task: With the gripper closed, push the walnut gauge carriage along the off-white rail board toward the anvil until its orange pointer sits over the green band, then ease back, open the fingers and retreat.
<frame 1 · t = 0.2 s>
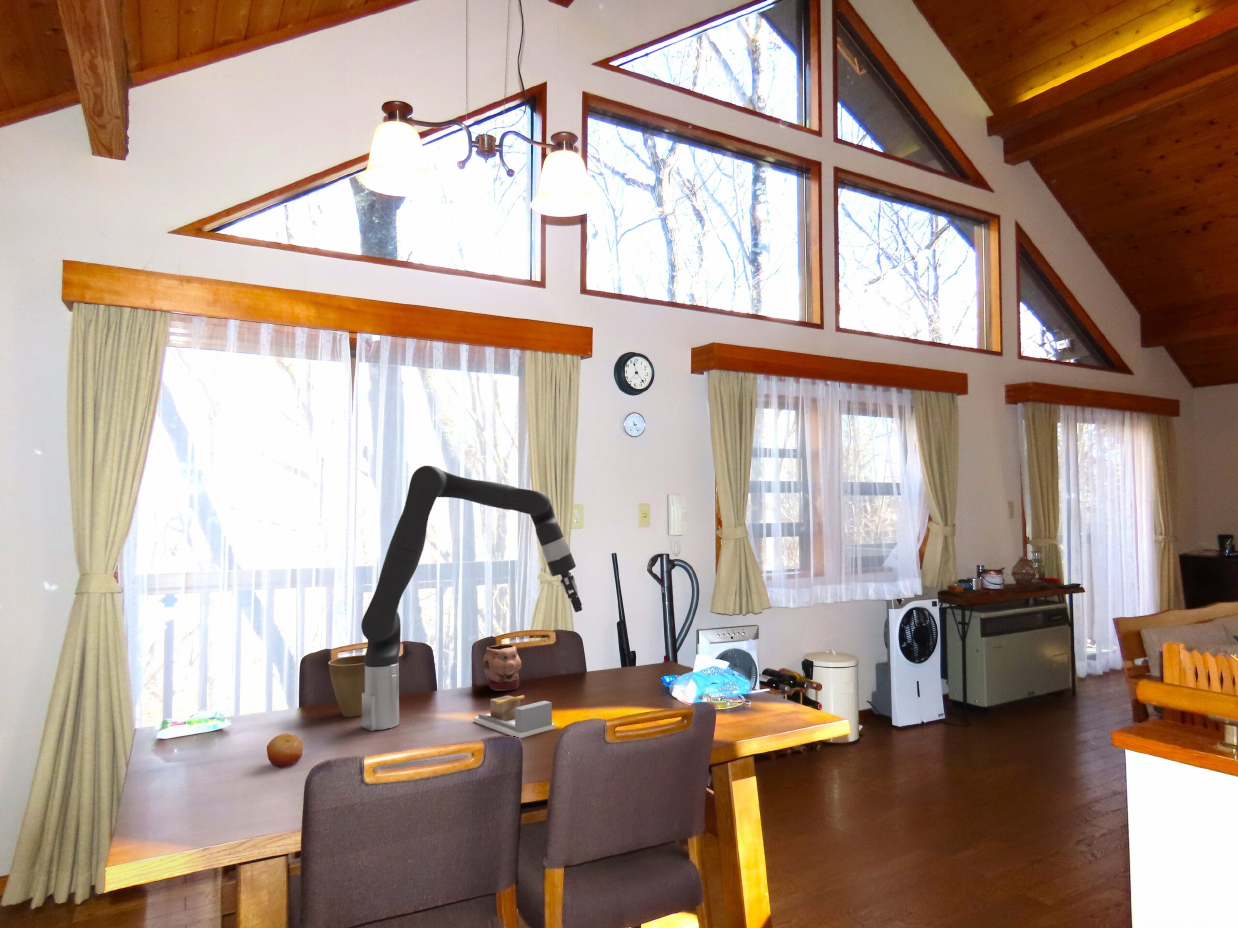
hand: (578, 609, 218), 31 cm above the table, tool tilted 20°, fingers open, 8 cm apart
fruit: (284, 765, 183), on the table
plant pot: (355, 714, 227), on the table
gauge carriage: (505, 706, 215), point 4 cm above the table, slide at 0.0 cm
decorative planter: (501, 687, 255), on the table
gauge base: (513, 724, 212), on the table
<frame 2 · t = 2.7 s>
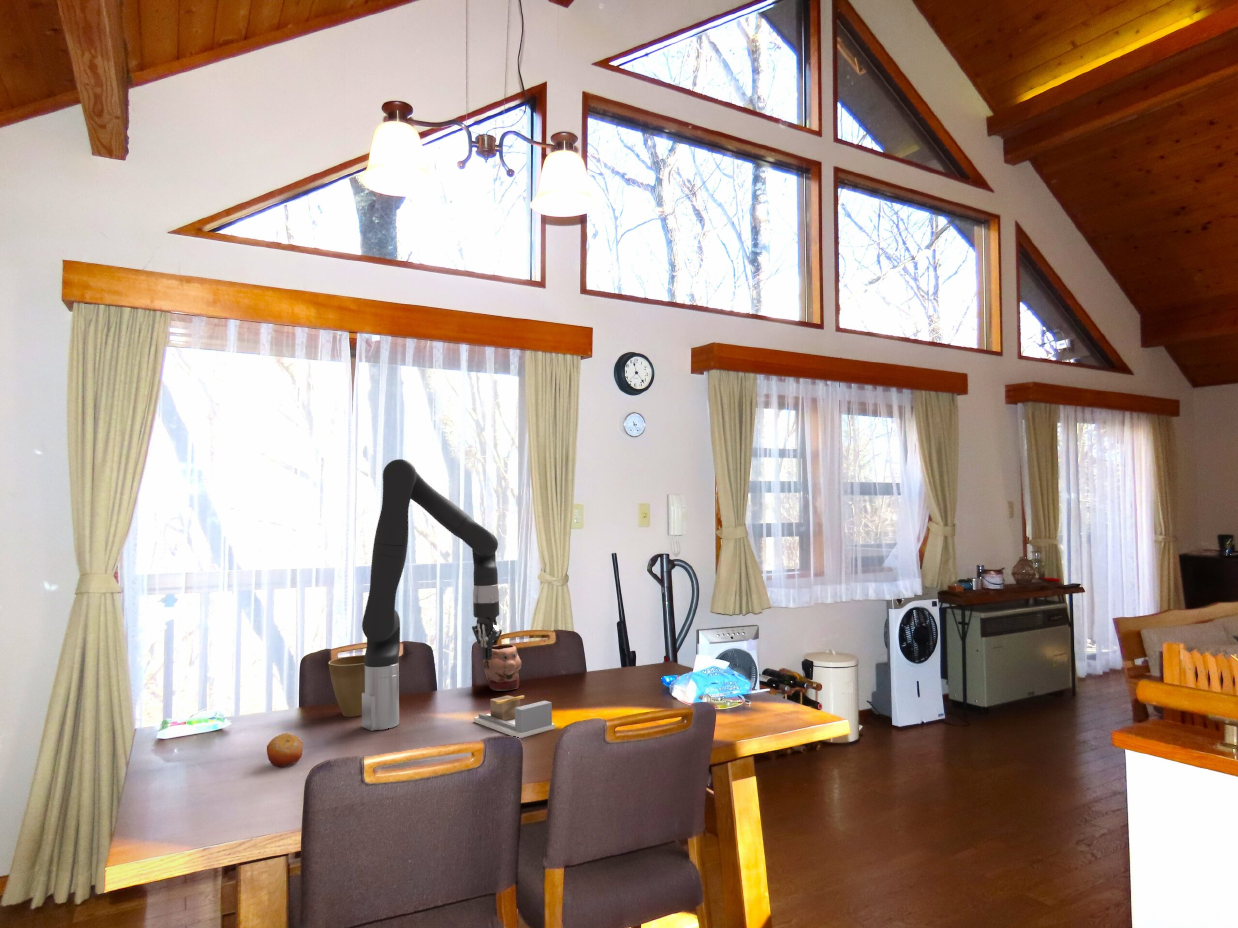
hand: (487, 659, 222), 16 cm above the table, tool pointing down, fingers closed
nothing on the table moved.
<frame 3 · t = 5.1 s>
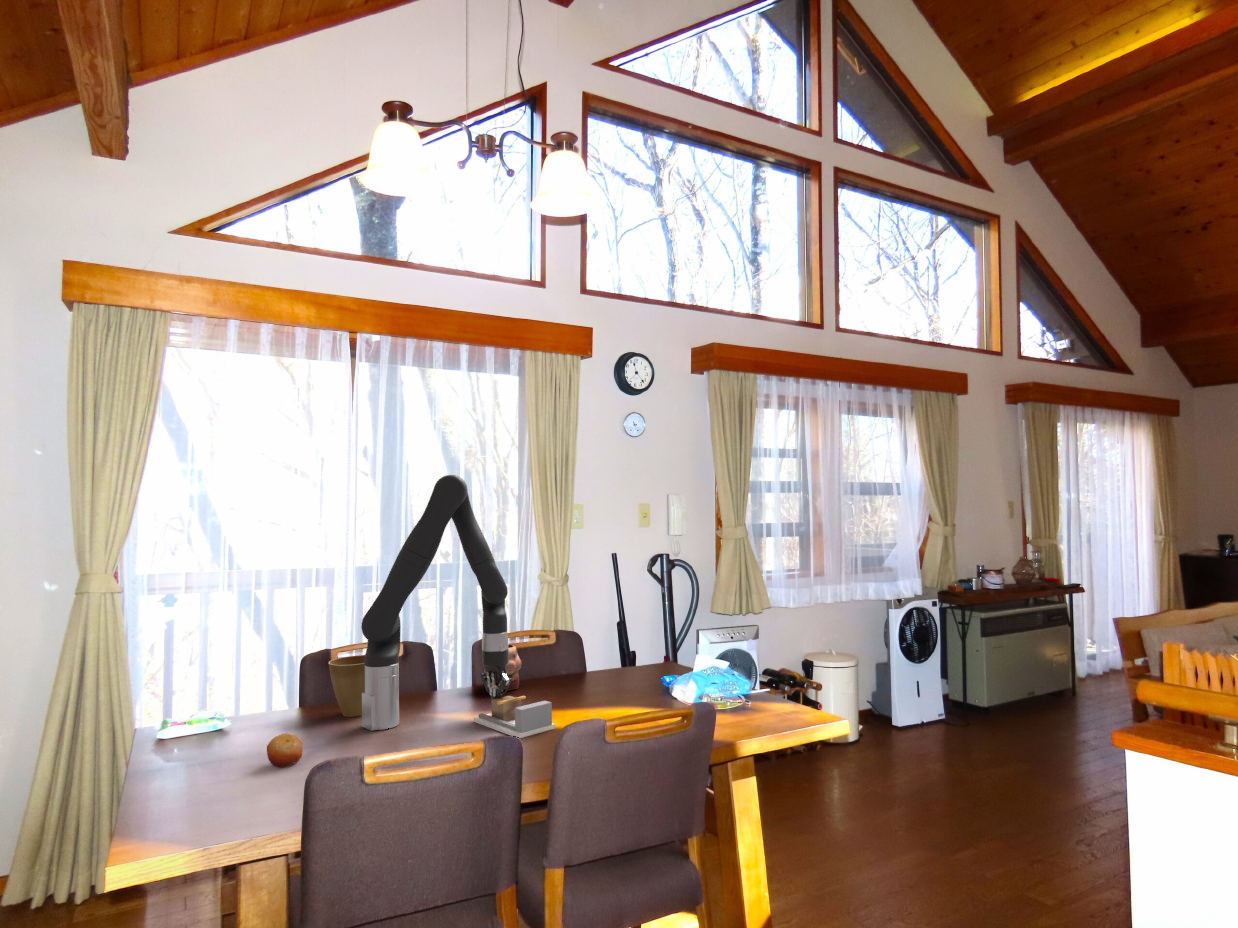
hand: (496, 708, 219), 3 cm above the table, tool pointing down, fingers closed
gauge carriage: (506, 707, 214), point 4 cm above the table, slide at 0.6 cm, touching gripper
everything else where it was.
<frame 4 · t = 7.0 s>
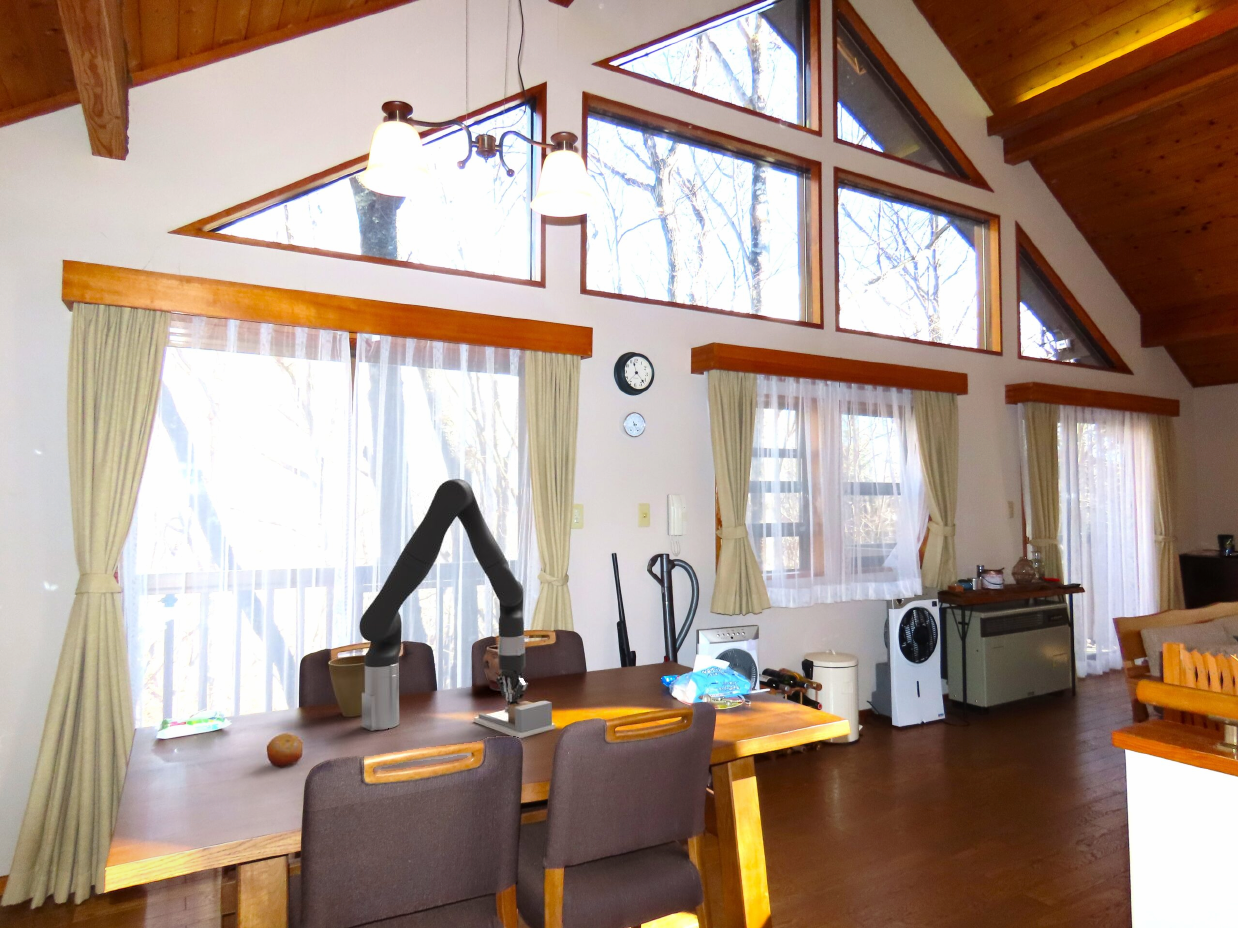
hand: (512, 713, 212), 3 cm above the table, tool pointing down, fingers closed
gauge carriage: (523, 712, 208), point 4 cm above the table, slide at 8.8 cm, touching gripper
everything else where it was.
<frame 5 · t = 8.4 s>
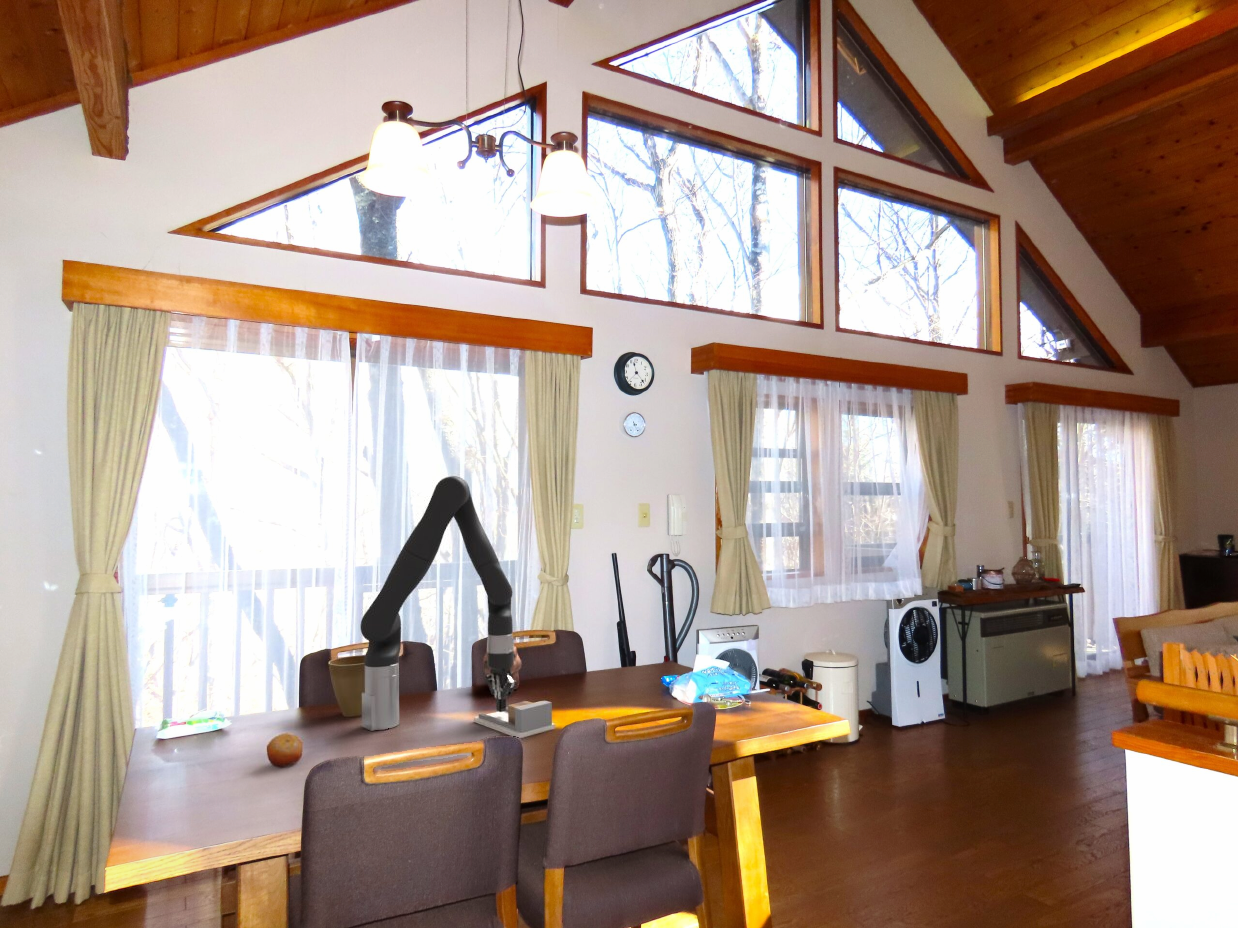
hand: (501, 711, 216), 3 cm above the table, tool pointing down, fingers closed
gauge carriage: (523, 712, 208), point 4 cm above the table, slide at 8.8 cm
everything else where it was.
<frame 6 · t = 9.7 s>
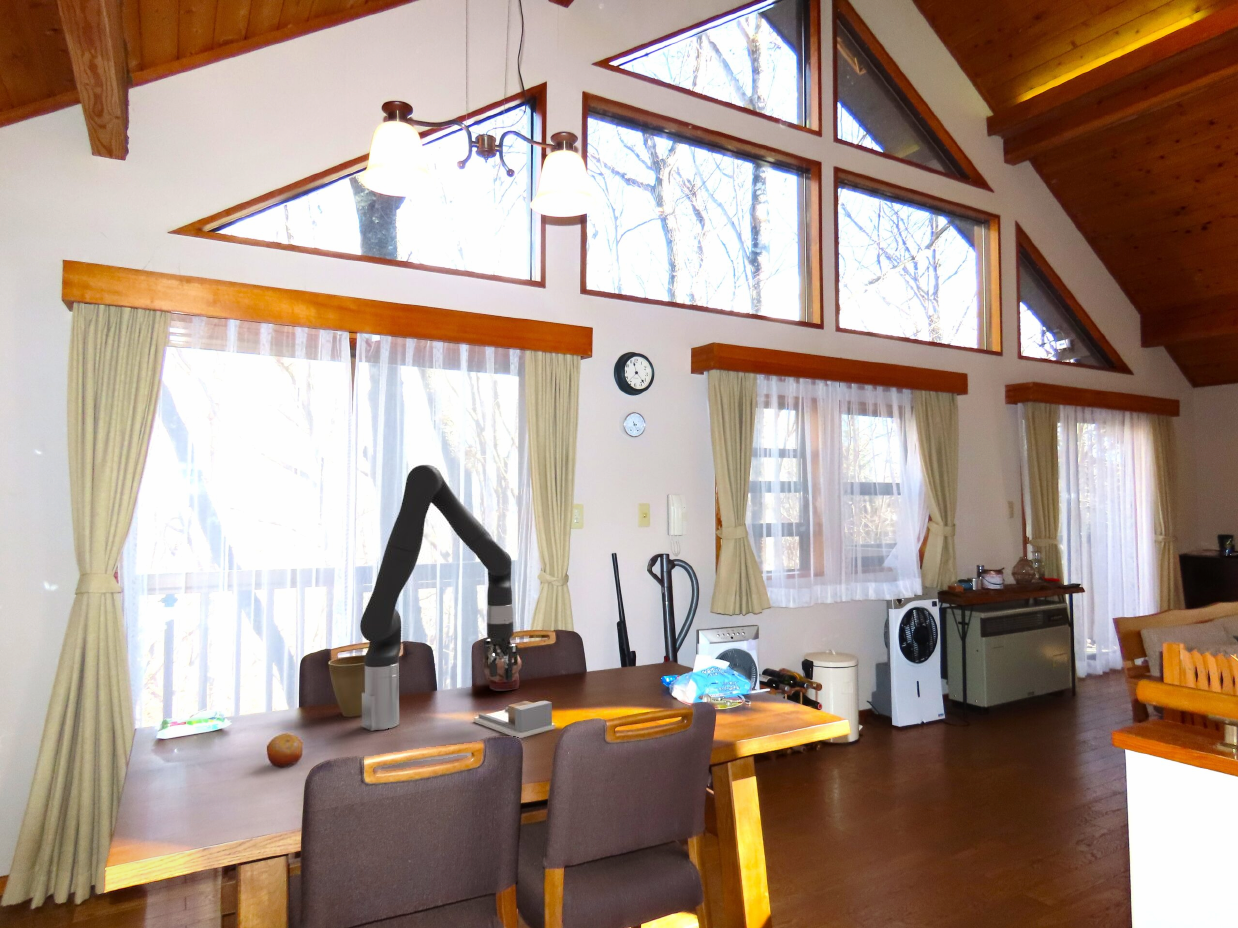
hand: (500, 678, 217), 12 cm above the table, tool pointing down, fingers open, 7 cm apart
nothing on the table moved.
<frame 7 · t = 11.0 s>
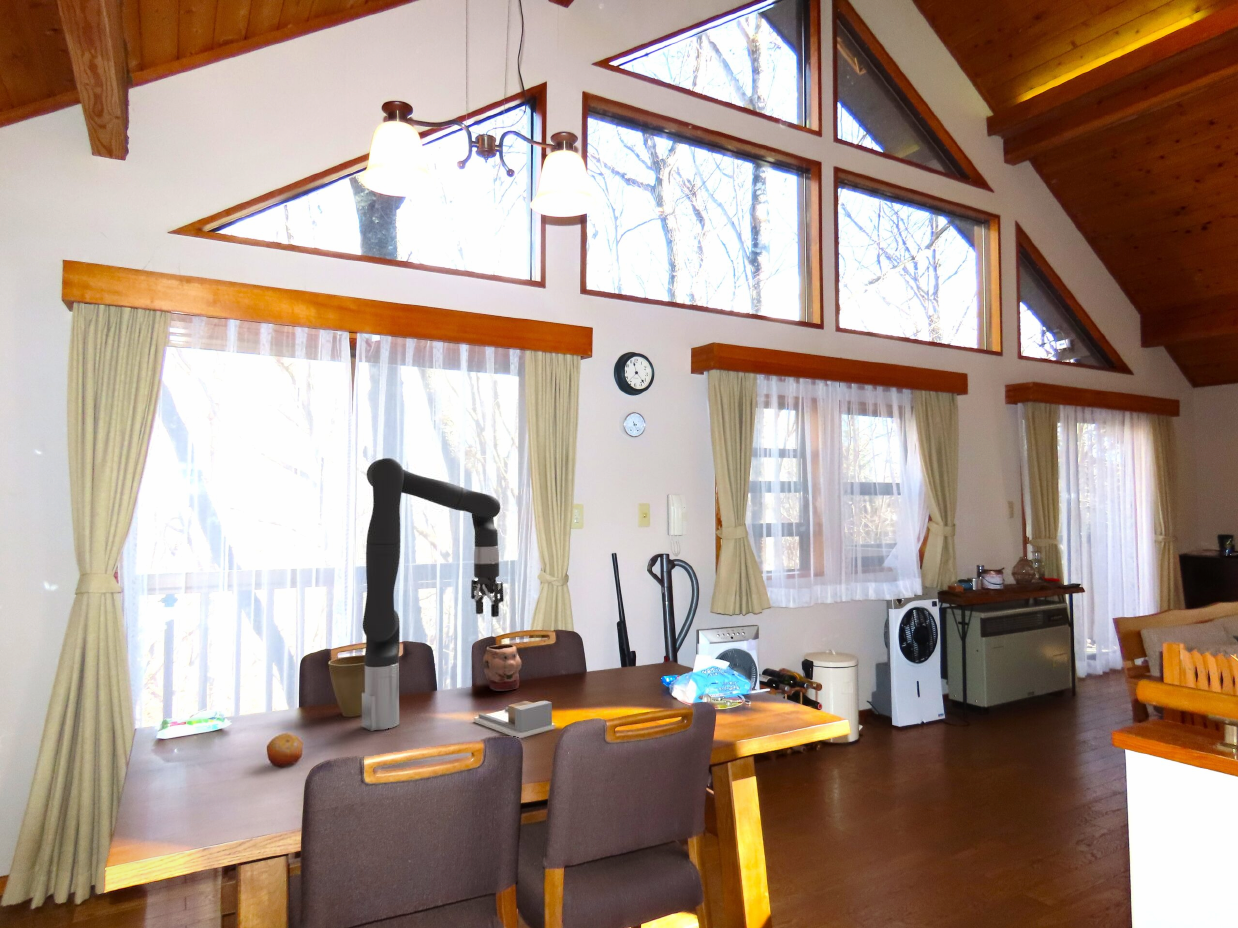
hand: (487, 615, 230), 28 cm above the table, tool pointing down, fingers open, 8 cm apart
nothing on the table moved.
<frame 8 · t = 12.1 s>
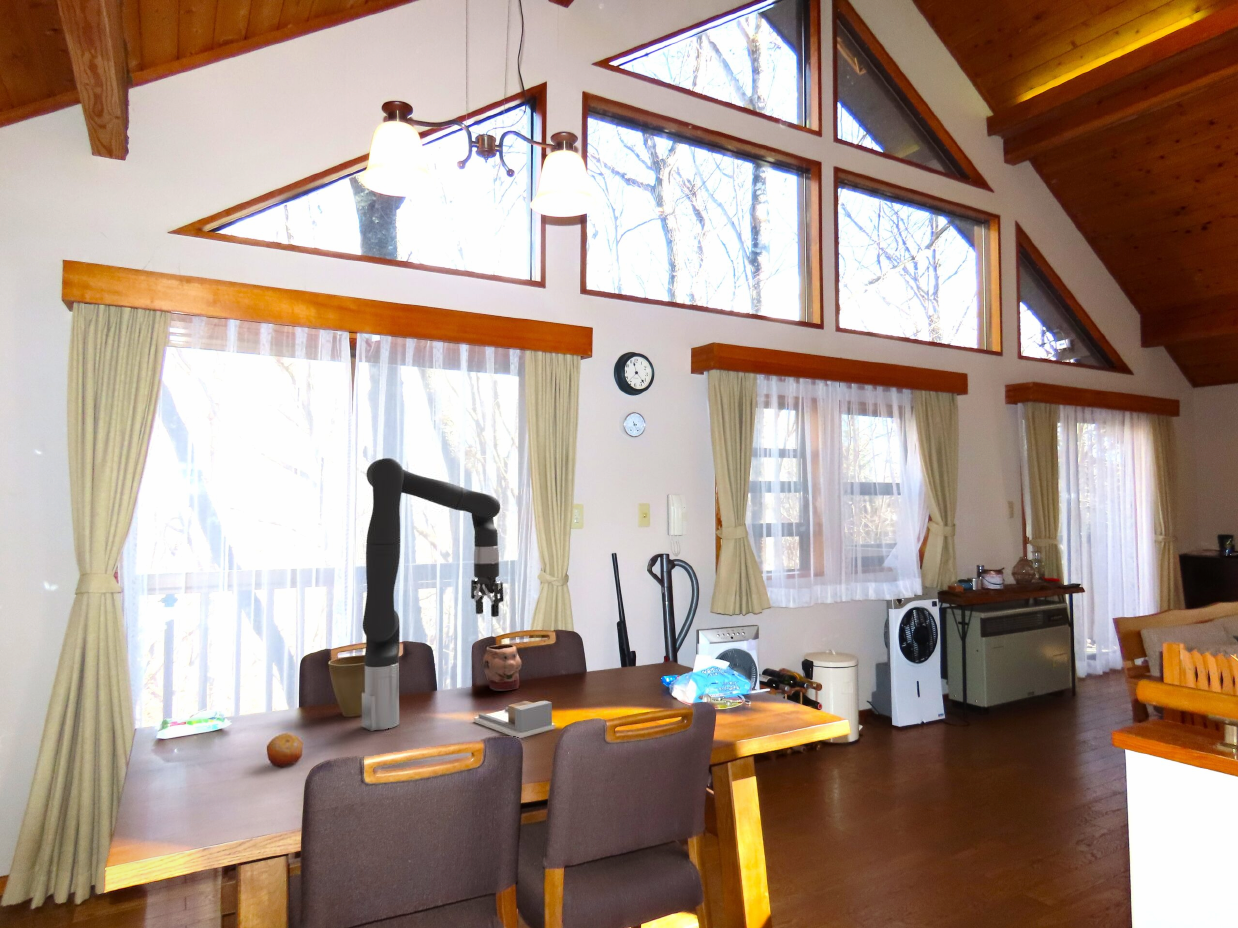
hand: (487, 615, 230), 28 cm above the table, tool pointing down, fingers open, 8 cm apart
nothing on the table moved.
at the end: gauge carriage slide at 8.8 cm; the gripper is holding nothing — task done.
